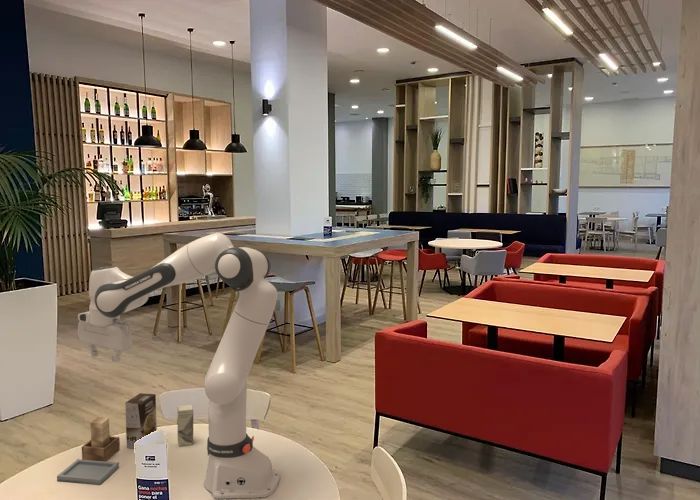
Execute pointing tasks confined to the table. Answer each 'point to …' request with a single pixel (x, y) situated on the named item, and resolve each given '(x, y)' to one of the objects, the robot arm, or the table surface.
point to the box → (185, 425)
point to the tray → (88, 472)
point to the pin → (100, 432)
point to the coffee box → (140, 417)
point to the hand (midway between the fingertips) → (105, 359)
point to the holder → (100, 450)
